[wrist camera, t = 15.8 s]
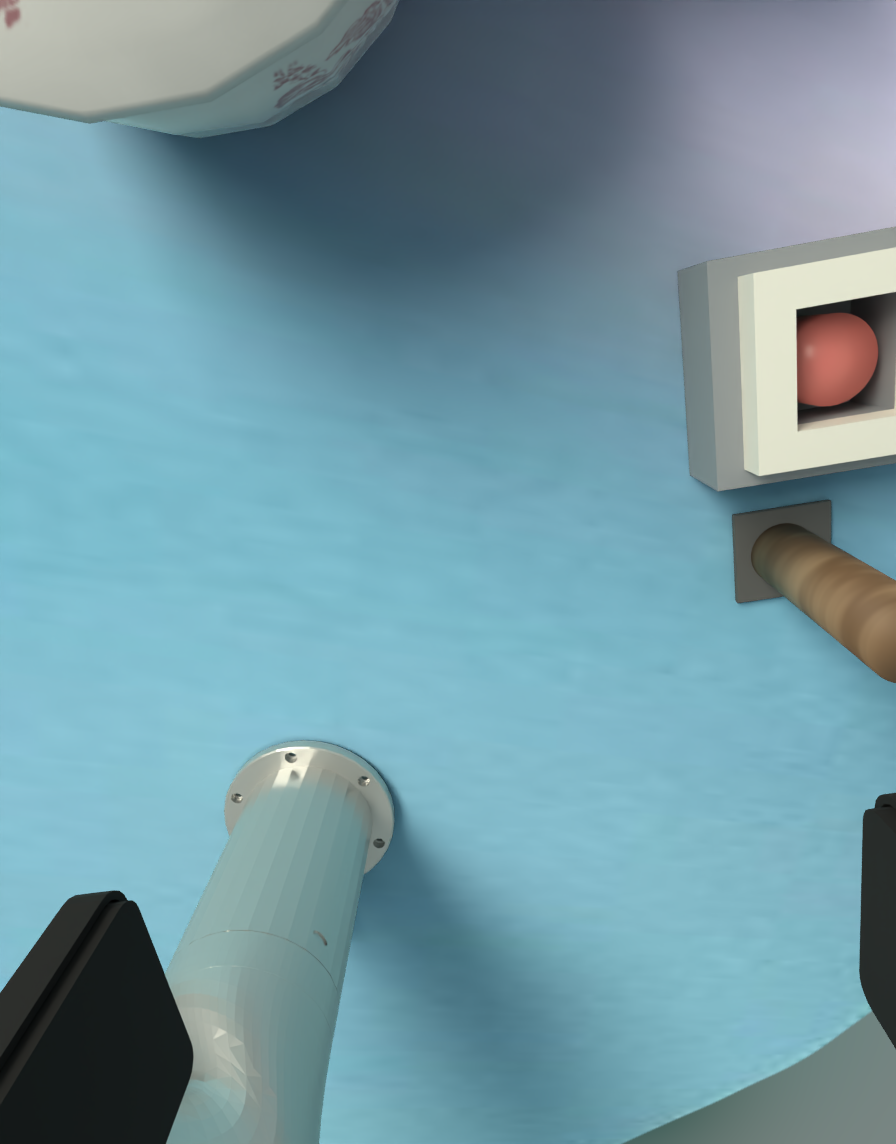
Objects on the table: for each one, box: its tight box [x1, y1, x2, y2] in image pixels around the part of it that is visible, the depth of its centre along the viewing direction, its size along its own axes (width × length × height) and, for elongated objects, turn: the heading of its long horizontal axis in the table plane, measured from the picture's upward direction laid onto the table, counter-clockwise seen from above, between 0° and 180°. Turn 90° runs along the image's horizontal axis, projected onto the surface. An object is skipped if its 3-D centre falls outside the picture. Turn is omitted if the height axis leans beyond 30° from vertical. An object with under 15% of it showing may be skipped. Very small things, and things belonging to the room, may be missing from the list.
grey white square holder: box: [678, 227, 896, 491], centre depth 38 cm, size 12×13×7 cm
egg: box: [796, 313, 878, 406], centre depth 38 cm, size 5×5×4 cm
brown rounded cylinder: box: [751, 523, 896, 683], centre depth 38 cm, size 4×4×14 cm
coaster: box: [732, 500, 831, 603], centre depth 44 cm, size 6×6×1 cm
